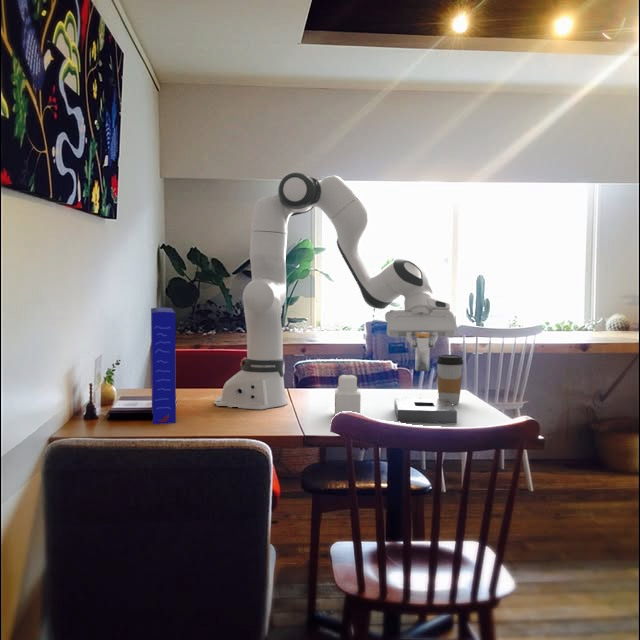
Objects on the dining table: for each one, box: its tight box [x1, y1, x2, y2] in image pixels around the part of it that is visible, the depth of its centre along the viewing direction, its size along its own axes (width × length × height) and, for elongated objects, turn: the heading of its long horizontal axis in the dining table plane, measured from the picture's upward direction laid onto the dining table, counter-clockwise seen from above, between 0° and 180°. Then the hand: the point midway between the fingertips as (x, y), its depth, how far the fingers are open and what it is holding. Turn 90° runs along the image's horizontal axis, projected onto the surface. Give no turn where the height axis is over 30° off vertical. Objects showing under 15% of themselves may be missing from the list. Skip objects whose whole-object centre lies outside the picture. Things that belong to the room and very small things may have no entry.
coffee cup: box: [436, 354, 464, 405], centre depth 194 cm, size 8×8×15 cm
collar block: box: [393, 397, 458, 424], centre depth 175 cm, size 16×16×4 cm
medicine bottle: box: [334, 373, 362, 415], centre depth 174 cm, size 7×7×12 cm
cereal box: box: [150, 307, 177, 425], centre depth 172 cm, size 22×6×30 cm, turn 16°
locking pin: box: [414, 332, 431, 372], centre depth 175 cm, size 4×4×11 cm
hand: (422, 346), depth 174 cm, fingers closed on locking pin, 4 cm apart
